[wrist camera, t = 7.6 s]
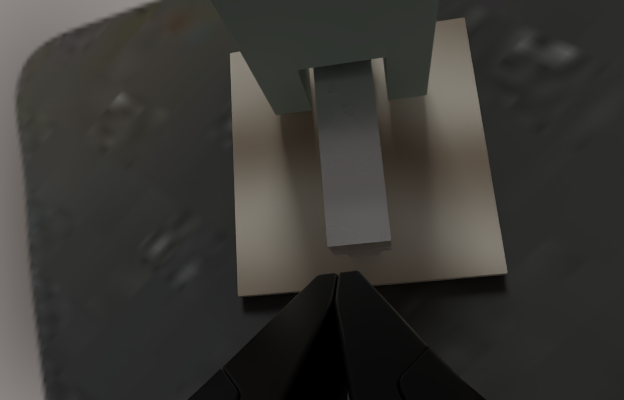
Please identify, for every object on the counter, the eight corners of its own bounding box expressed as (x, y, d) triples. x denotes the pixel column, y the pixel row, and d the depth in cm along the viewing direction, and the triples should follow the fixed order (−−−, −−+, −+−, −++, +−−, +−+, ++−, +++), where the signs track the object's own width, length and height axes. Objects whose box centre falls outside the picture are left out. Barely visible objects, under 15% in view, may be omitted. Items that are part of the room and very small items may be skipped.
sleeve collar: (426, 95, 20) (446, -63, 12) (275, 115, 21) (200, -20, 13) (418, 33, 21) (431, -154, 13) (272, 55, 21) (199, -107, 13)
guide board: (504, 274, 19) (507, 273, 18) (242, 297, 20) (238, 296, 20) (462, 25, 22) (464, 17, 21) (234, 60, 23) (229, 53, 22)
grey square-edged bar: (397, 255, 19) (397, 238, 16) (333, 261, 19) (320, 246, 16) (370, 21, 22) (365, -38, 18) (315, 29, 22) (299, -26, 19)
